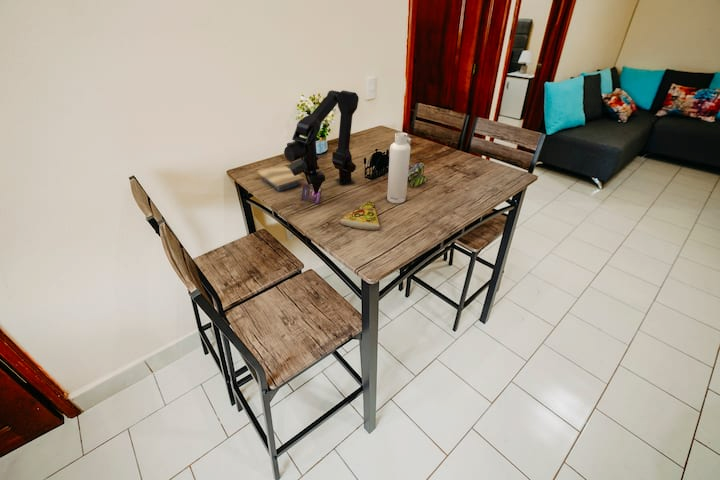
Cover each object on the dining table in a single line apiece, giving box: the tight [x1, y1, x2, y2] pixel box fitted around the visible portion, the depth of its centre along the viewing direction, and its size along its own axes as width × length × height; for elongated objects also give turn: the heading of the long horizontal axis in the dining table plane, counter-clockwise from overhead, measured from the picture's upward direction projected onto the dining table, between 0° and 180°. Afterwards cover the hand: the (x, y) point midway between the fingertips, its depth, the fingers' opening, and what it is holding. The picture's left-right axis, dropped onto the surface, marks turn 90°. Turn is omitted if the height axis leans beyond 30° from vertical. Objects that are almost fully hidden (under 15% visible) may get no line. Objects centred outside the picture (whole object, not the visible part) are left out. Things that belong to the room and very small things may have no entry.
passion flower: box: [407, 162, 429, 188], centre depth 156 cm, size 11×11×12 cm
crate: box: [262, 177, 300, 192], centre depth 157 cm, size 16×10×3 cm, turn 40°
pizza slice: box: [340, 200, 381, 231], centre depth 133 cm, size 16×21×3 cm
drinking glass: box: [407, 136, 412, 146], centre depth 180 cm, size 7×7×10 cm
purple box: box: [301, 183, 322, 205], centre depth 143 cm, size 7×5×9 cm
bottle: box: [386, 131, 412, 204], centre depth 137 cm, size 8×8×28 cm
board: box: [256, 163, 304, 188], centre depth 156 cm, size 20×13×1 cm, turn 40°
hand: (312, 189), depth 142 cm, fingers open, 9 cm apart
